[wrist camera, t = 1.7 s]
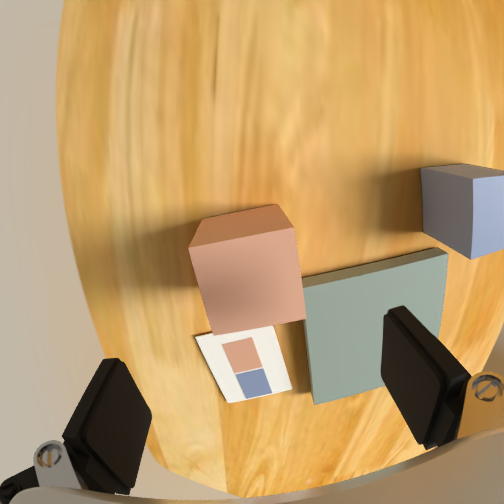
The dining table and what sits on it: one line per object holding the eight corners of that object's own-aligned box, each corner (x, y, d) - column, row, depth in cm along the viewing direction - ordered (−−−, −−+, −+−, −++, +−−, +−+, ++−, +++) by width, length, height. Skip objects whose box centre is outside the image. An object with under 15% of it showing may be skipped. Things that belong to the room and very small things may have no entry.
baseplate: (297, 279, 21) (301, 288, 20) (437, 247, 21) (448, 253, 20) (311, 393, 25) (314, 404, 24) (425, 359, 25) (431, 368, 24)
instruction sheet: (195, 336, 22) (195, 337, 22) (270, 317, 22) (271, 319, 22) (228, 402, 25) (228, 403, 25) (292, 388, 25) (292, 389, 25)
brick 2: (420, 167, 19) (472, 178, 13) (466, 163, 19) (518, 174, 13) (423, 232, 21) (470, 259, 15) (467, 222, 20) (514, 245, 15)
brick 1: (202, 218, 20) (188, 248, 14) (277, 203, 19) (294, 227, 14) (219, 287, 21) (213, 335, 16) (289, 273, 21) (306, 318, 15)
